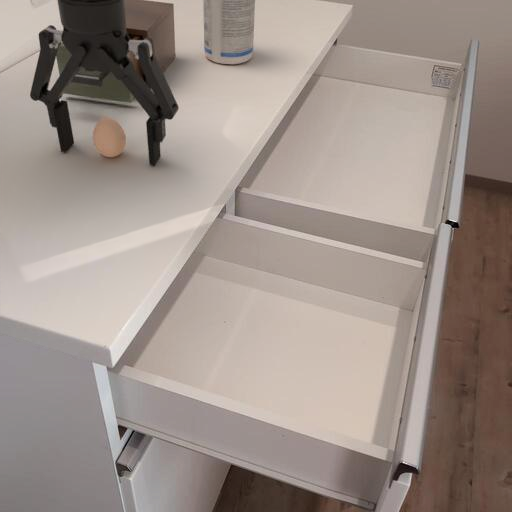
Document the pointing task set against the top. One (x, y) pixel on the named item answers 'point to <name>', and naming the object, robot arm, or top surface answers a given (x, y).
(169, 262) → the top surface
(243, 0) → the supplement tub
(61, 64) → the drawer
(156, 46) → the cabinet
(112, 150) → the egg
